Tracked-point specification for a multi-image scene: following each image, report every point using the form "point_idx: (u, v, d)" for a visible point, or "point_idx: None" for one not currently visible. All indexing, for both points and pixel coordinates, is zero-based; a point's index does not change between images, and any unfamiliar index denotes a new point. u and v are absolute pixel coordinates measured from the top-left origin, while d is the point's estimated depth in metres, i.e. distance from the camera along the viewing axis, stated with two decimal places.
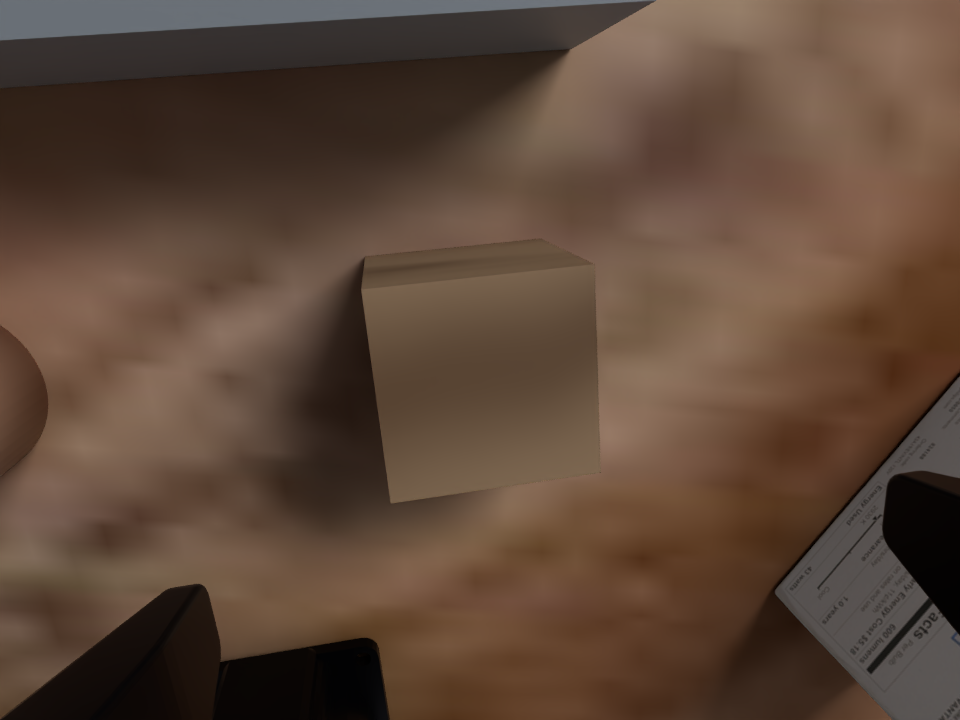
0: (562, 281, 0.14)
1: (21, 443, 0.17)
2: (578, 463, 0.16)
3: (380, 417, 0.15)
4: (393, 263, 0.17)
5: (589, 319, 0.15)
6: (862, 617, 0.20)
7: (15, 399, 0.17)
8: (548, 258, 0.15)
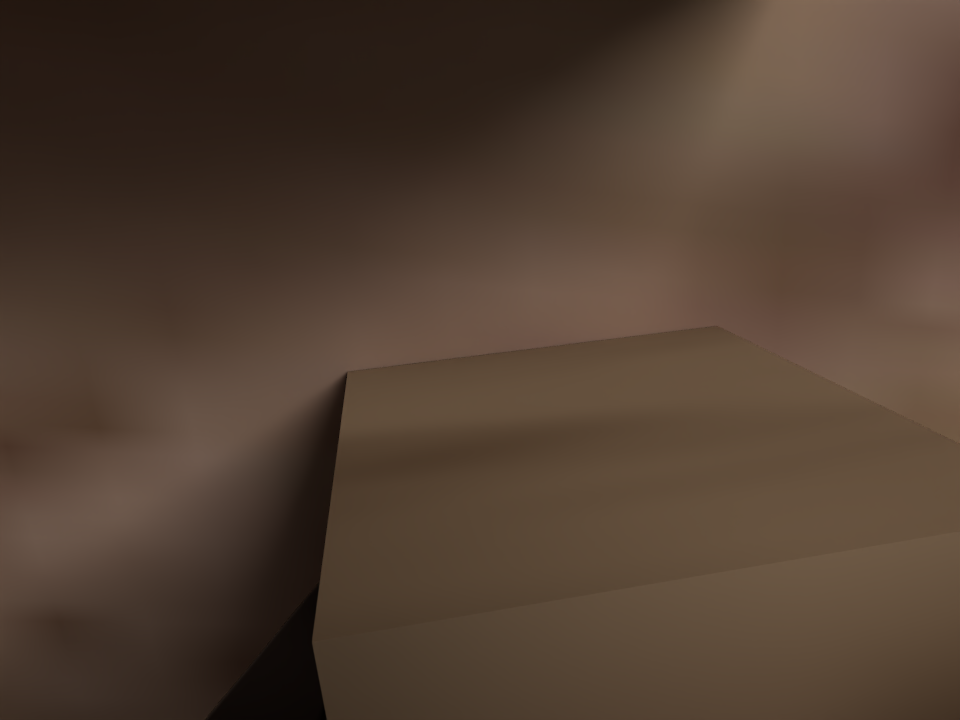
0: None
1: None
2: None
3: None
4: (413, 418, 0.07)
5: None
6: None
7: None
8: (852, 437, 0.06)
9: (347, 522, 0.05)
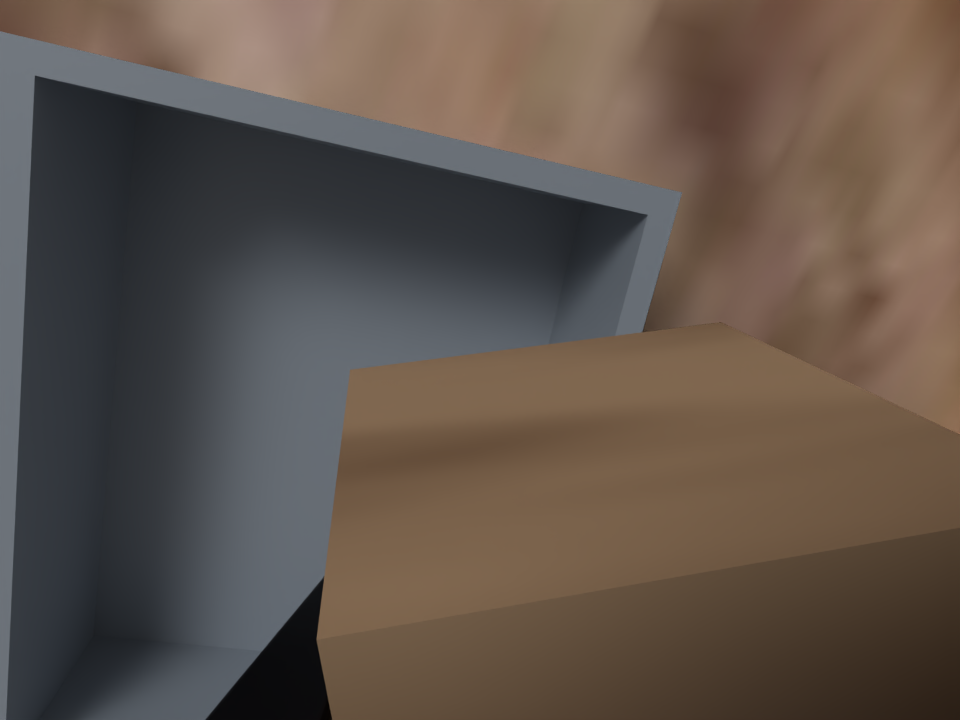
0: None
1: None
2: None
3: None
4: (417, 416, 0.07)
5: None
6: None
7: None
8: (859, 433, 0.05)
9: (351, 519, 0.05)
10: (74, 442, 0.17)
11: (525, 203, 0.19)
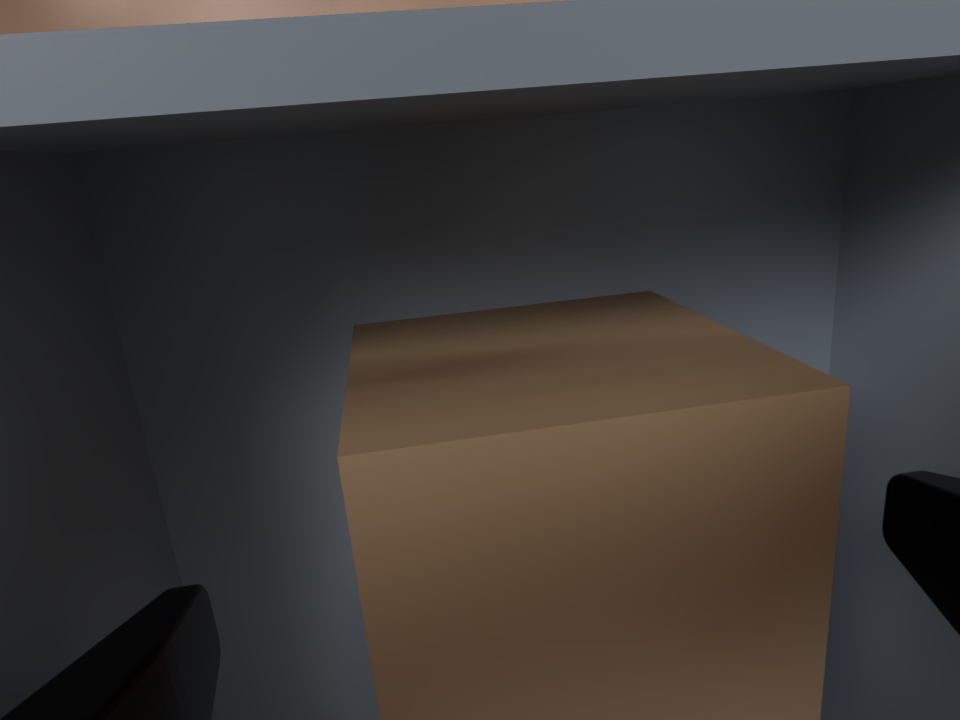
0: (780, 423, 0.07)
1: None
2: None
3: (381, 711, 0.07)
4: (405, 351, 0.09)
5: (827, 497, 0.07)
6: None
7: None
8: (717, 354, 0.08)
9: (357, 405, 0.07)
10: None
11: (756, 121, 0.11)
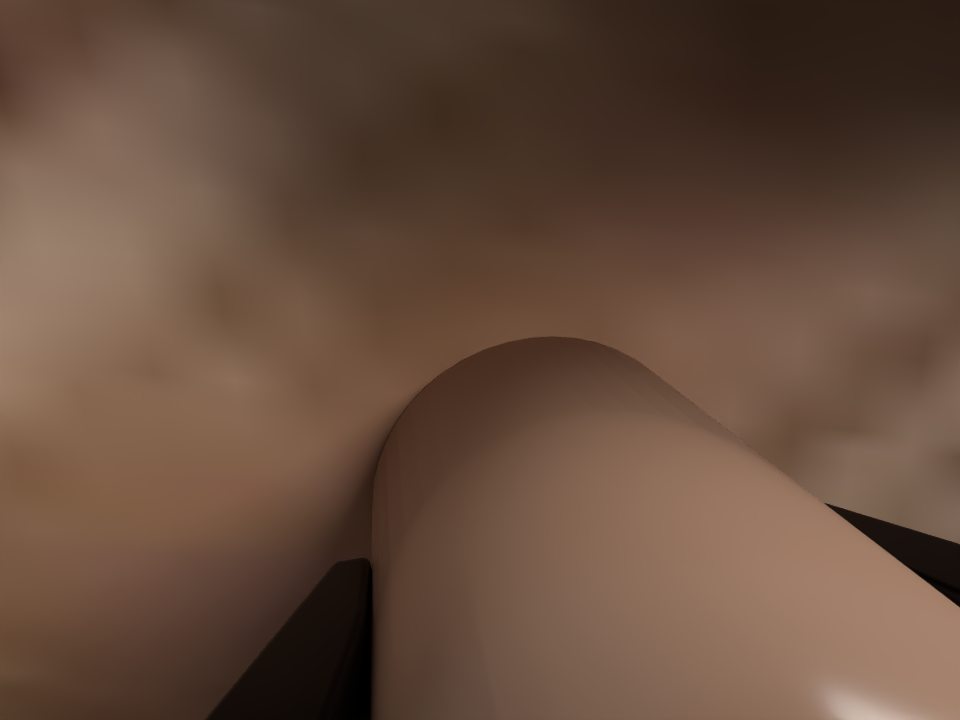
0: None
1: None
2: None
3: None
4: None
5: None
6: None
7: None
8: None
9: None
10: None
11: None
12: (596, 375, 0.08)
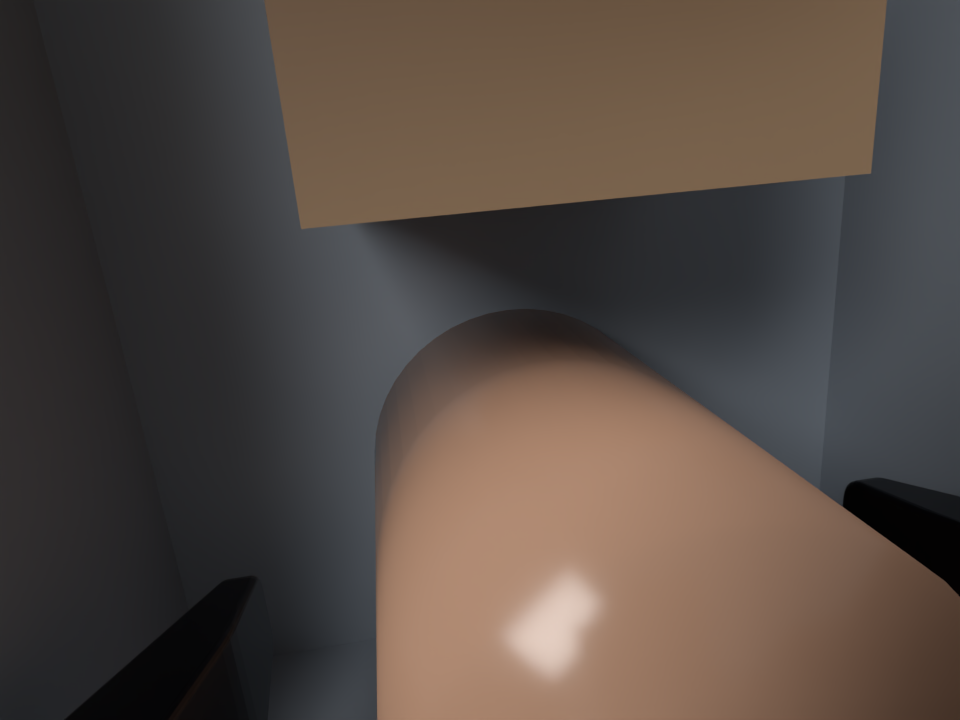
0: None
1: None
2: (818, 140, 0.06)
3: None
4: None
5: None
6: None
7: None
8: None
9: None
10: (17, 276, 0.08)
11: None
12: (557, 334, 0.09)
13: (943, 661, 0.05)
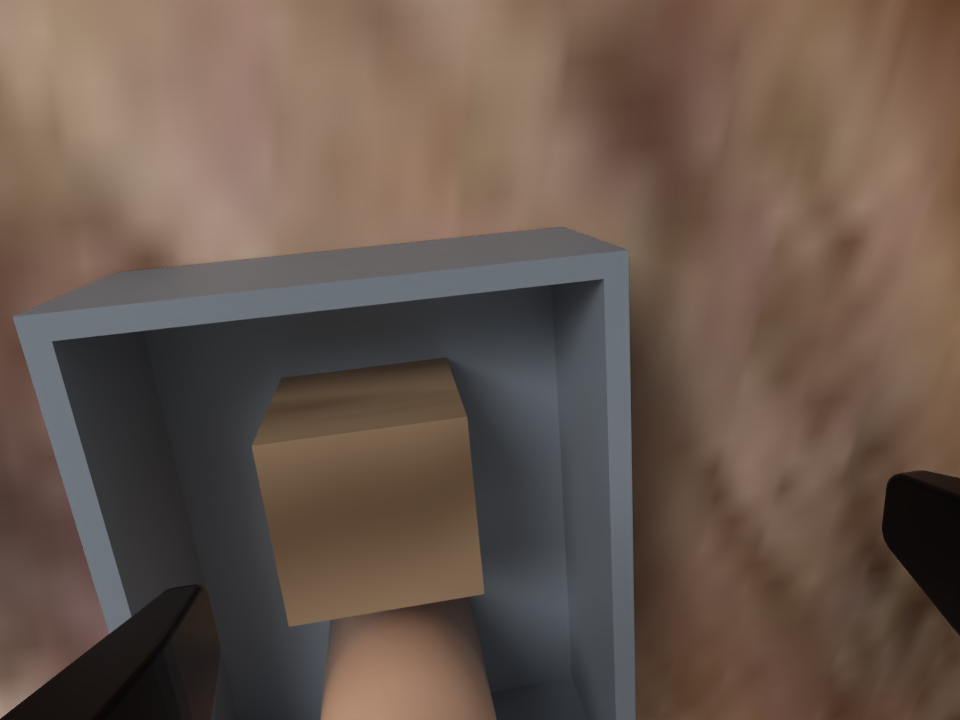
0: (438, 432, 0.16)
1: None
2: (463, 586, 0.17)
3: (275, 553, 0.16)
4: (299, 395, 0.18)
5: (465, 463, 0.16)
6: None
7: None
8: (434, 400, 0.17)
9: (266, 424, 0.16)
10: None
11: None
12: None
13: None
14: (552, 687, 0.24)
